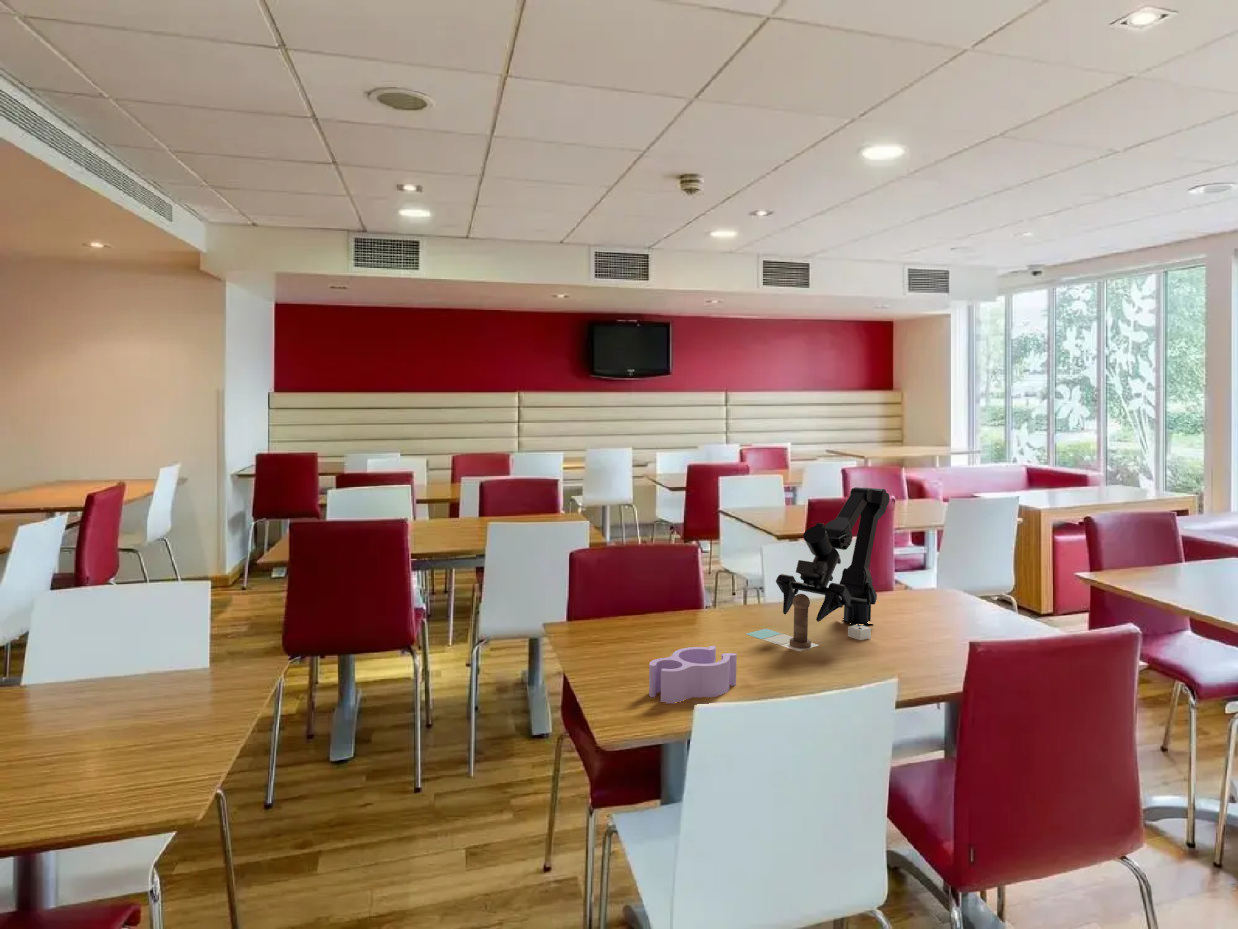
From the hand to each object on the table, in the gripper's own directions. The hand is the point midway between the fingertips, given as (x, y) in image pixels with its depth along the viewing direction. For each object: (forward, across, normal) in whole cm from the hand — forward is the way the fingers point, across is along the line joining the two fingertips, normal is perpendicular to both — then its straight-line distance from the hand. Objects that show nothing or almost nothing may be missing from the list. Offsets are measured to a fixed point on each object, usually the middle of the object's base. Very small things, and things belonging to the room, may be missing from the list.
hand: (800, 617), depth 186 cm
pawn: (+5, 0, +5) cm, 7 cm away
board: (+5, -6, +7) cm, 11 cm away
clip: (+34, -4, -21) cm, 40 cm away
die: (-6, +8, +18) cm, 21 cm away
